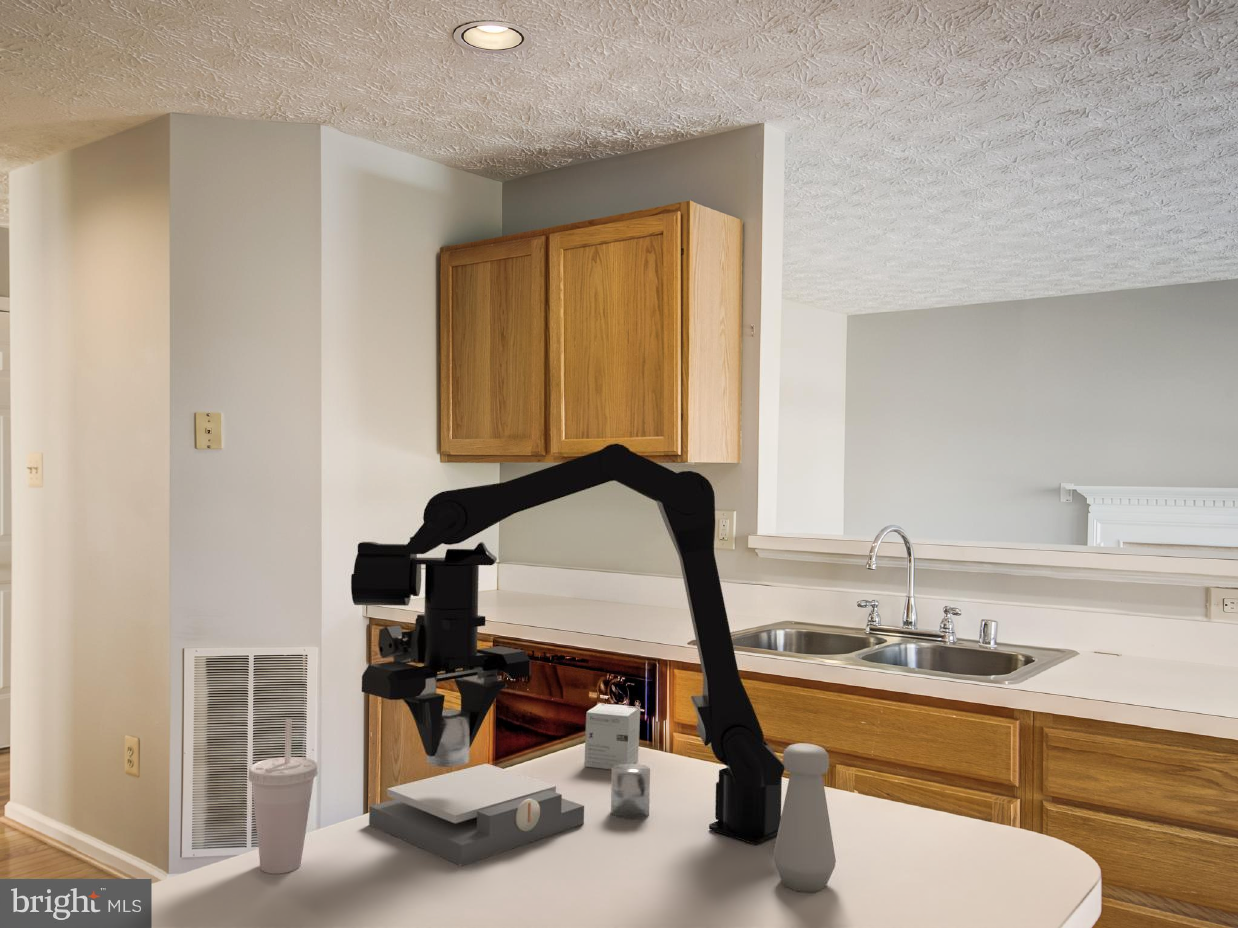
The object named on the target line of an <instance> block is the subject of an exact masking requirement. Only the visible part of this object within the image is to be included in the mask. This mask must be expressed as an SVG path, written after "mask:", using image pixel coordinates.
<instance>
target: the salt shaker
mask: <svg viewBox="0 0 1238 928" xmlns="http://www.w3.org/2000/svg"><path fill="white" fill-rule="evenodd" d="M782 754H783V756H782V764H783V765H784V768H785V769H784V771H786V772H788V773H790V774H789V777H788V783H787V788H786V793H785V797H784V801H783V806H782V810H781V820H780V825H779V829H778V834H777V836H776V840H775V845H774V850H773V861H774V864H775V868H776V870H777V873H778V876H779V878H780V881H781V884H782V885H783V886H784V887H787V888H789V889H791V890H794V891H795V892H801V893H802V892H805V893H818V892H819V891H821V890H823V889H824V888H827V885H828V883H829V881H830V879H831V876H832V874H833V871H834V870H835V867H836V862H837V861H836V853H835V848H834V841H833V835H832V828H831V822H830V821H831V820H830V815H829V809H828V803H827V798H826V796H827V795H826V791H825V782H824V778H823V775H825V774H826V773H827V772H828V771H829V768H830V757H829V753H828V752H827V751H826V750H825V748H824V747H822V746H819V745H817V744H812V743H806V742H805V743H804V742H802V743H799V742H798V743H794V744H793V743H792V744H790V745H788V746H787V747H786V748H785V749H784V750H783V753H782Z"/></svg>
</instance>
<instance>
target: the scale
mask: <svg viewBox="0 0 1238 928" xmlns="http://www.w3.org/2000/svg"><path fill="white" fill-rule="evenodd" d="M562 795H563V794H561V793H559V792H557V786H556V785H553V784H551V783H547V782H543V781H542V780H539V779H535V778H533V777H530V776H526V775H523V774H520V773H518V772H513V771H511V770H507V769H504V768H501V767H498V766H496V765H492V764H489V763H483V764H479V765H475V766H471V767H468V768H464V769H459V770H456V771H451V772H446V773H443V774H440V775H436V776H432V777H428V778H424V779H420V780H416V781H415V780H414V781H411V782H407V783H405V784H404V783H403V784H399V785H396V786H392V787H389V788H386V797H389V798H391V800H388V801H384V802H380V803H376V804H372V805H369V809H368V810H369V811H368V813H369V814H368V815H369V817H368V824H369V826H371V827H374V828H375V829H378V830H380V831H383V832H385V833H387V834H390V835H392V836H394V837H396V838H398V839H401V840H403V841H405V842H407V843H409V844H411V845H414V846H417V847H418V848H421V849H423V850H425V851H427V852H429V853H432V854H434V855H437V856H439V857H441V858H443V859H446V860H448V861H450V862H452V863H455V864H457V865H459V866H461V867H462V866H465V865H467V864H470V863H473V862H477V861H479V860H482V859H485V858H487V857H491V856H493V855H496V854H499V853H502V852H505V851H506V852H507V851H508V850H511V849H514V848H517V847H521V846H523V845H526V844H529V843H532V842H536V841H538V840H540V839H543V838H547V837H550V836H553V835H555V834H558V833H560V832H564V831H567V830H570V829H573V828H577V827H579V826H581V825H584V824H585V805H582V804H580V803H577V802H574V801H572V800H568V799H566V798H562V797H563V796H562Z"/></svg>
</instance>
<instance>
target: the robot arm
mask: <svg viewBox="0 0 1238 928" xmlns="http://www.w3.org/2000/svg"><path fill="white" fill-rule="evenodd" d="M609 482H616V483H618V484H621V485H622V486H625V487H627V488H628V489H630V490H632V491H634V492H636V493H638V494H640V495H642V496H644V497H646V498H647V499H651V500H652V501H655V503H656V505H657V507H658V510H659V513H660V515H661V517H662V520H663V523H664V526H665V528H666V530H667V532H668V536H669V537H670V539H671V542H672V544H673V547H674V549H675V551H676V552H677V553H676V554H677V555H678V559H679V563H680V569H681V574H682V578H683V584H684V588H685V593H686V594H685V595H686V598H687V599H686V600H687V603H688V608H689V609H688V610H689V613H690V618H691V622H692V628H693V632H694V638H695V642H696V646H697V647H696V648H697V651H698V657H699V661H700V667H701V671H702V680H703V681H702V694H701V695H691V696H690V700H691V702H692V705H693V707H694V709H695V712H696V717H697V725H696V731H697V732H698V735H699V737H700V739H701V741H702V743H703V745H704V746H705V747H708V746H709V748H710V749H711V751H712V753H713V755H714V757H715V758H716V760H718V762H720V763H722V764H723V765H725V766H726V767H725V768H722V769H719V770H718V781H717V782H716V783H715V808H714V809H715V813H714V817H715V820H716V821H714V822H711V823H709V824H708V829H709V830H710V831H713V832H716V833H719V834H723V835H726V836H729V837H732V838H735V839H738V840H742V841H745V842H748V843H750V844H757V845H758V844H761V843H764V842H765V841H767V840H770V839H772V838H774V837H777V834H778V829H779V825H780V820H781V815H782V785H783V784H782V783H783V774H784V772H785V768H784V765H783V761H781V759H780V758H779V757H778V755H777V754H776V753H775V752H774V750H773V749H772V748H771V746H770V745H769V744H768V742H766V741H765V736H764V733H763V728H762V726H761V724H760V722H759V719H758V716H757V714H756V712H755V709H754V706H753V703H752V701H751V699H750V696H749V695H748V693H747V691H746V688H745V686H744V683H743V682H742V678H741V677H740V673H739V668H738V664H737V658H736V653H735V649H734V648H735V647H734V643H733V639H732V634H731V633H732V632H731V630H730V625H729V624H730V623H729V619H728V613H727V610H726V609H727V608H726V604H725V600H724V595H723V589H722V585H721V579H720V576H719V570H718V565H717V564H718V563H717V560H716V556H715V538H716V536H715V535H716V498H715V497H716V495H715V491H714V487H713V486H712V484H711V482H710V480H709V479H708V478H707V477H705V476H704V475H702V474H701V473H700V472H696V471H693V470H683V471H682V470H681V471H674V470H672V469H670V468H667V467H665V466H663V465H661V464H659V463H657V462H654V461H653V460H651V459H648V458H646V457H644V456H642V455H639V454H638V453H635V452H634V451H631V449H629V447H627V446H625V445H624V444H620V443H611V444H608V445H606V446H605V447H603V448H601V449H600V450H597V451H593V452H591V453H587V454H584V455H581V456H579V457H578V456H577V457H576V458H572V459H569V460H567V461H563V462H561V463H557V464H554V465H552V466H548V467H546V468H542V469H539V470H537V471H534V472H531V473H527V474H525V475H522V476H519V477H515V478H514V479H510V480H507V481H504V482H499V483H491V484H484V485H478V486H470V487H464V488H463V487H462V488H458V489H450V490H444V491H440V492H439V493H437V494H434V495H433V496H432V497H431V498H430V499H428V502H427V503H426V506H425V507H424V510H423V516H422V518H423V519H422V520H423V523H422V525H421V526H420V527H419V528H418V530H417V531H416V532H415V534H413V536H410V537H409V541H408V543H402V544H401V543H379V542H377V541H361V542H359V543H358V544H357V554H356V557H355V560H354V566H353V573H351V577H350V578H351V579H350V592H351V599H352V602H353V605H355V606H393V607H394V606H399V607H400V606H403V607H404V606H405V607H406V606H409V605H410V604H411V603H410V602H411V599H412V596H413V597H419V596H420V593H421V587H422V565H425V566H424V567H425V568H424V569H425V570H424V572H425V573H424V612H423V614H417V615H416V618H415V620H414V621H415V627H414V628H413V629H411V630H406V631H403V629H402V627H401V626H400V625H392V626H391V625H390V626H385V627H383V628H381V629H379V630H378V640H377V641H378V643H377V644H378V645H377V646H378V652H379V656H380V657H381V658H382V659H387V658H392V659H393V661H388V662H380V663H374V664H368V666H367V667H366V668H365V670H364V672H363V673H362V676H361V692H362V693H365V694H368V695H372V696H375V697H378V698H381V699H382V698H383V699H386V700H389V701H398V700H402V701H403V702H404V703H405V704H406V706H407V708H408V709H409V712H410V713H411V715H412V718H413V720H414V723H415V725H416V729H417V731H418V734H419V737H420V740H421V743H422V746H423V749H424V751H425V754H426V756H427V757H428V756H431V757H432V756H435V753H436V749H437V746H438V740H439V733H440V726H441V719H442V712H443V710H444V707H445V706H444V705H445V697H446V696H445V694H443V693H438V692H437V683H441V682H445V681H450V680H454V682H455V685H456V688H457V690H458V692H459V694H460V710H462V711H467V712H469V713H470V738H469V749H470V748H471V747H472V744H474V741H475V739H476V737H477V735H478V732H479V730H480V729H481V727H482V724H483V722H484V720H485V718H486V716H487V714H488V713H489V711H490V710H491V707H492V706H493V704H494V702H495V701H496V699H497V697H498V696H499V694H500V692H501V691H502V690H503V689H506V688H507V682H504V681H500V680H499V678H500V677H499V672H503V673H504V674H505V676H506V677H507V678H508V679H510V680H518V679H522V678H523V679H524V678H527V677H530V676H531V659H530V658H529V655H528V654H527V652H526V650H523V649H522V650H521V649H518V648H511V647H507V646H501V645H499V646H498V645H496V646H489V647H484V648H478V627H485V626H486V615H485V616H484V615H480V614H479V580H480V579H479V572H480V571H479V569H480V568H479V567H480V566H494V565H495V563H496V562H497V561H498V559H497V556H496V555H494V554H493V553H491V552H490V550H489V549H488V548H487V546H486V544H485V542H483V541H480V542H479V543H478V544H477V545H476V547H474V548H446V552H445V555H444V557H418V556H417V555H425V554H427V553H429V552H431V551H433V550H434V549H436V548H438V547H439V546H442V544H443V545H447V546H451V545H458V544H461V543H463V542H464V541H466V540H469V539H470V538H472V537H474V536H476V535H477V534H480V533H481V532H483V531H485V530H487V529H489V528H491V527H492V526H495V525H496V524H498V523H500V522H501V521H503V520H505V519H507V518H509V517H511V516H512V515H514V514H517V513H520V512H524V511H527V510H529V509H533V508H535V507H537V506H541V505H544V504H548V503H549V502H553V501H556V500H559V499H562V498H564V497H567V496H570V495H574V494H576V493H580V492H582V491H585V490H588V489H592V488H595V487H598V486H600V485H603V484H606V483H609ZM411 663H412V664H411ZM415 664H417V665H415ZM418 664H423V665H420V666H419V665H418Z"/></svg>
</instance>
